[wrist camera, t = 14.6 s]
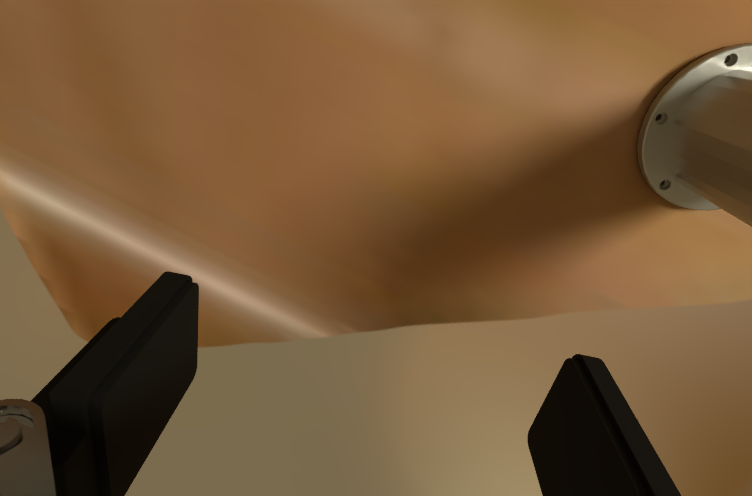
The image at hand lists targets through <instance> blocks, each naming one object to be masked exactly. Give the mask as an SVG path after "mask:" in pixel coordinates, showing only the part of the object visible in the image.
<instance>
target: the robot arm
mask: <svg viewBox="0 0 752 496" xmlns="http://www.w3.org/2000/svg"><path fill="white" fill-rule="evenodd" d="M725 58H726V60H725ZM658 114H659V117H658V118H657V119H656V117H657V115H658ZM655 119H656V120H655ZM637 152H638V163H639V166H640V169H641V172H642V175H643V177H644V178H645V180H646V182H647V183H648V185H649V186H650V187H651V188H652V189H653V190H654V191H655V192H656V193H657V194H658V195H660V196H661V197H663V198H664V199H665V200H667V201H668V202H671V203H673V204H675V205H677V206H679V207H683V208H688V209H692V210H716V209H723V210H724V211H726V212H728V213H729V214H731V215H733V216H734V217H736V218H738V219H740V220H741V221H743V222H745V223H746V224H748V225H750V226H751V227H752V43H744V44H738V45H733V46H727V47H725V48H722V49H719V50H716V51H713V52H711V53H708V54H707V55H705V56H703V57H701V58H699V59H697V60H696V61H694V62H692V63H691V64H689V65H688V66H687V67H685V68H684V69H683V70H681V71H680V72H679V73H677V74H676V75H675V76H674V77H673V78H672V79H671V80H670V81H669V82H668V83H667V84H666V85H665V86H664V87H663V89H662V90H661V91H660V93H659V94H658V95H657V97H656V98H655V99H654V101H653V102H652V104H651V106H650V108H649V110H648V112H647V114H646V115H645V117H644V120H643V123H642V126H641V129H640V132H639V138H638V146H637ZM661 182H662V183H661ZM198 301H199V286H198V284H197V283H193V282H192V278H191V277H190V276H188V275H183V274H178V273H173V272H165V273H163V274H162V275H161V276H160V277H159V278H158V280H157V281H156V282H155V283H154V284H153V285H152V286H151V287H150V288H149V289H148V290H147V291H146V292H145V293H144V294H143V295H142V296H141V297H140V298H139V299H138V300H137V301H136V302H135V304H134V305H133V306H132V307H131V308H130V309H129V310H128V311H127V312H126V313H125V314H124V315H123V316H122V317H121V318H118V317H117V318H114V319H112V320H111V321H110V322H108V323H107V324H106V325H105V326H104V327H103V328H102V329H101V330H100V331H99V332H98V333H97V334H96V335H95V336H94V337H93V338H92V339H91V340H90V341H89V342H88V344H87V345H86V346H85V347H84V348H83V349H82V350H81V351H80V352H79V353H78V354H77V355H76V356H75V357H74V358H73V359H72V360H71V361H70V362H69V363H68V364H67V365H66V366H65V367H64V368H63V369H62V370H61V371H60V372H59V373H58V374H57V375H56V376H55V377H54V378H53V379H52V380H51V381H50V382H49V383H48V384H47V385H46V386H45V387H44V388H43V389H42V390H41V391H40V392H39V393H38V394H37V395H36V396H35V397H34V398H33V399H32V400H31V401H27V400H23V399H5V400H0V496H124V495H125V494H126V492H127V490H128V489H129V487H130V485H131V484H132V482H133V480H134V478H135V477H136V475H137V473H138V472H139V470H140V468H141V467H142V465H143V463H144V462H145V460H146V458H147V457H148V455H149V453H150V451H151V450H152V448H153V446H154V445H155V443H156V441H157V440H158V438H159V436H160V434H161V433H162V431H163V430H164V428H165V426H166V425H167V423H168V421H169V419H170V418H171V416H172V414H173V413H174V411H175V409H176V408H177V406H178V404H179V402H180V401H181V399H182V398H183V396H184V394H185V392H186V391H187V389H188V387H189V386H190V384H191V382H192V381H193V379H194V376H195V373H196V369H197V347H198ZM528 446H529V450H530V453H531V456H532V460H533V463H534V467H535V470H536V474H537V477H538V480H539V484H540V488H541V491H542V494H543V496H681V494H680V493H679V491H678V489H677V488H676V486H675V484H674V482H673V481H672V479H671V477H670V476H669V474H668V472H667V470H666V469H665V467H664V465H663V464H662V462H661V460H660V458H659V457H658V455H657V453H656V451H655V450H654V448H653V446H652V445H651V443H650V441H649V439H648V438H647V436H646V434H645V432H644V431H643V429H642V427H641V426H640V424H639V422H638V420H637V419H636V417H635V415H634V414H633V412H632V410H631V408H630V407H629V405H628V403H627V401H626V400H625V398H624V396H623V395H622V393H621V391H620V389H619V388H618V386H617V384H616V383H615V381H614V379H613V377H612V376H611V374H610V372H609V371H608V369H607V367H606V366H605V364H604V362H603V361H602V360H601V359H599V358H595V357H590V356H585V355H580V354H576V355H574V356H573V357H572V359H571V358H568V359H566V360H565V362H564V364H563V366H562V368H561V369H560V371H559V373H558V375H557V377H556V379H555V381H554V383H553V385H552V387H551V389H550V391H549V393H548V395H547V397H546V398H545V401H544V402H543V404H542V406H541V408H540V410H539V412H538V414H537V416H536V418H535V420H534V422H533V424H532V426H531V428H530V430H529V433H528Z"/></svg>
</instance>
